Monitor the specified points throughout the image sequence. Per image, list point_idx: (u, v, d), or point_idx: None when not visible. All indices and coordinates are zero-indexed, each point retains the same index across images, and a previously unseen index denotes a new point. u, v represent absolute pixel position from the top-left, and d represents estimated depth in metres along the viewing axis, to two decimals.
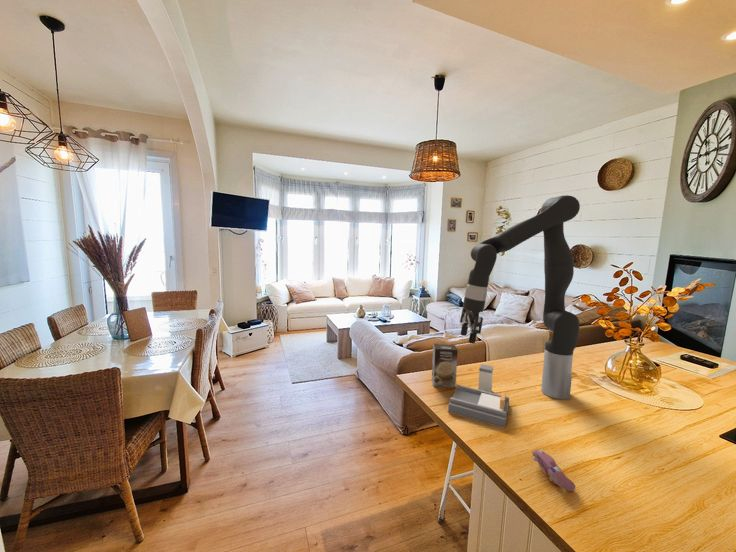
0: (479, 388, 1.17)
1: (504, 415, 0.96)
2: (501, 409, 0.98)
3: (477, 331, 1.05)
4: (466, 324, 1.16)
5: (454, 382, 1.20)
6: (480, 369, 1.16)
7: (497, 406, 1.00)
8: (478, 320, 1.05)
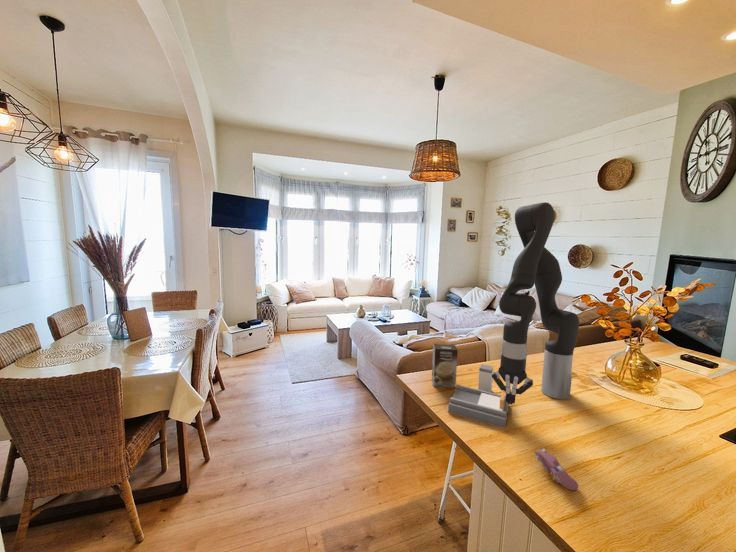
0: (479, 388, 1.17)
1: (504, 415, 0.96)
2: (501, 409, 0.98)
3: None
4: None
5: (454, 382, 1.20)
6: (480, 369, 1.16)
7: (497, 406, 1.00)
8: None
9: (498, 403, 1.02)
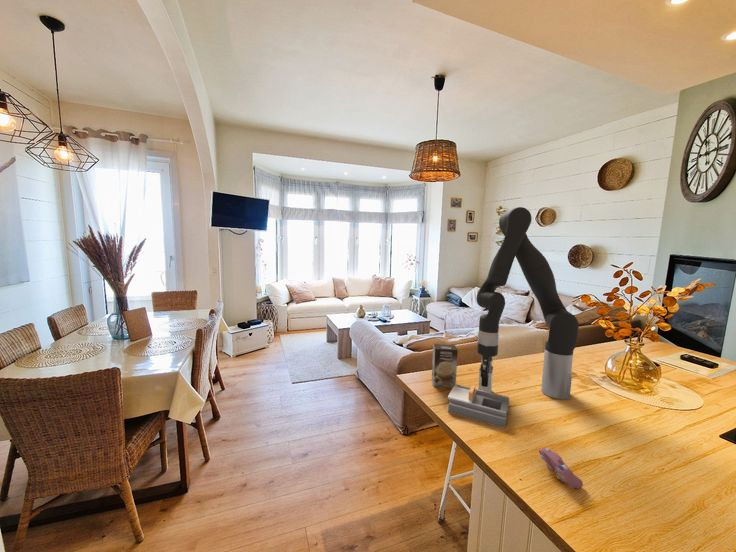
0: (479, 388, 1.17)
1: (504, 415, 0.96)
2: (469, 401, 1.03)
3: None
4: None
5: (454, 382, 1.20)
6: (480, 369, 1.16)
7: (466, 398, 1.05)
8: None
9: (468, 395, 1.07)
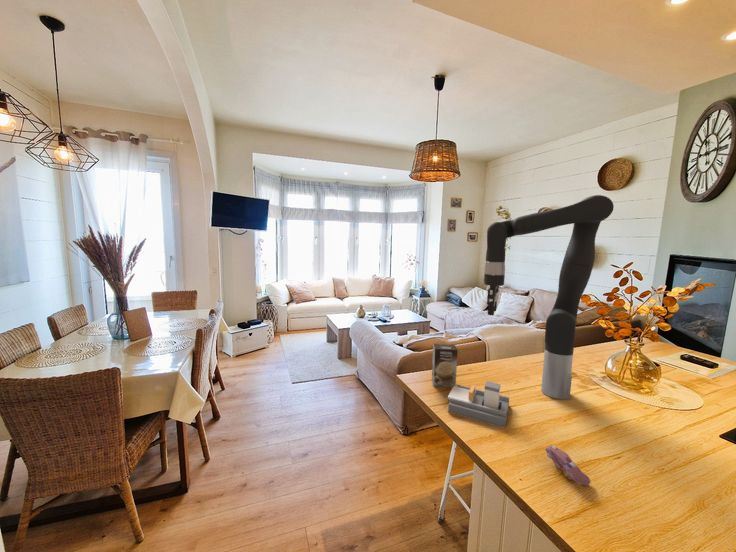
0: None
1: (504, 415, 0.96)
2: (469, 401, 1.03)
3: None
4: None
5: (454, 382, 1.20)
6: (485, 387, 1.02)
7: (466, 398, 1.05)
8: None
9: (468, 395, 1.07)
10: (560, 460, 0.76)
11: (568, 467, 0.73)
